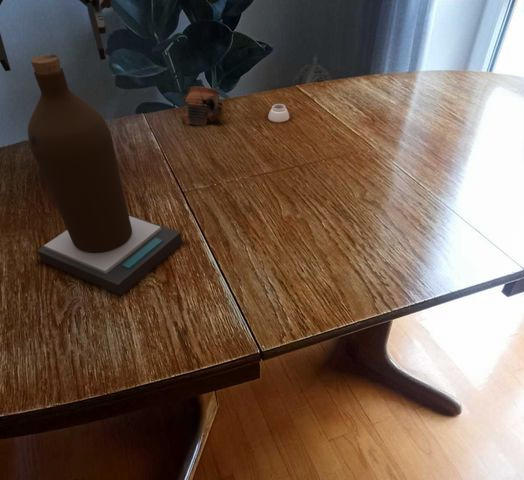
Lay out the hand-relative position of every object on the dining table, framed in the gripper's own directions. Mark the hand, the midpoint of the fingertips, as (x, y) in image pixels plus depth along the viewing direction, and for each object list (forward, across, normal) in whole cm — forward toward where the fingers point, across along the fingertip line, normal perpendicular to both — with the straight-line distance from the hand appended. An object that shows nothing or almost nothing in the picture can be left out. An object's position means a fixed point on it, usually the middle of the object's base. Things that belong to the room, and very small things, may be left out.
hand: (54, 60), depth 67 cm
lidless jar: (0, +44, +34) cm, 56 cm away
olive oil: (+25, 0, +5) cm, 25 cm away
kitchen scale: (+28, +1, +6) cm, 28 cm away
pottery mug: (-5, +28, +39) cm, 48 cm away
